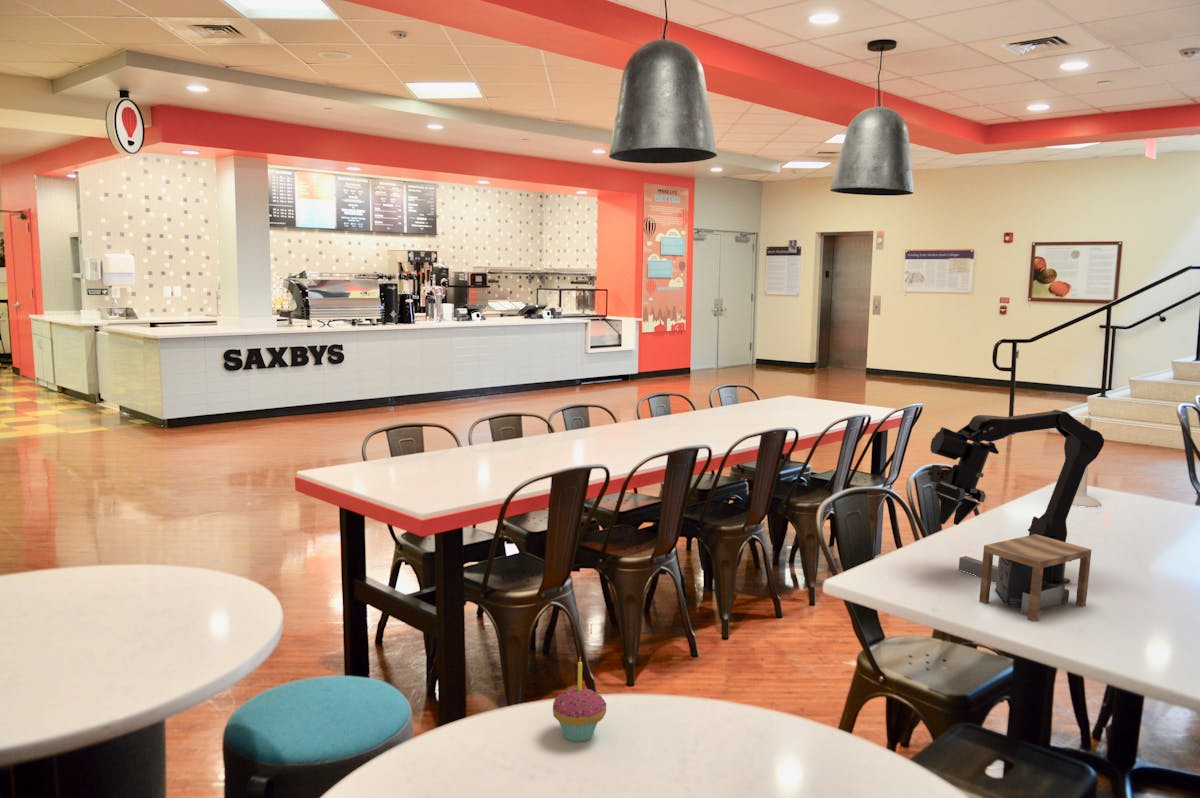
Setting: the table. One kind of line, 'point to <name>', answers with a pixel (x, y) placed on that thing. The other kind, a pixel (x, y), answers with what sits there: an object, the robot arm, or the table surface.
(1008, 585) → the small box
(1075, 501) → the candlestick
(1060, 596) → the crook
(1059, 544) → the small wooden table
